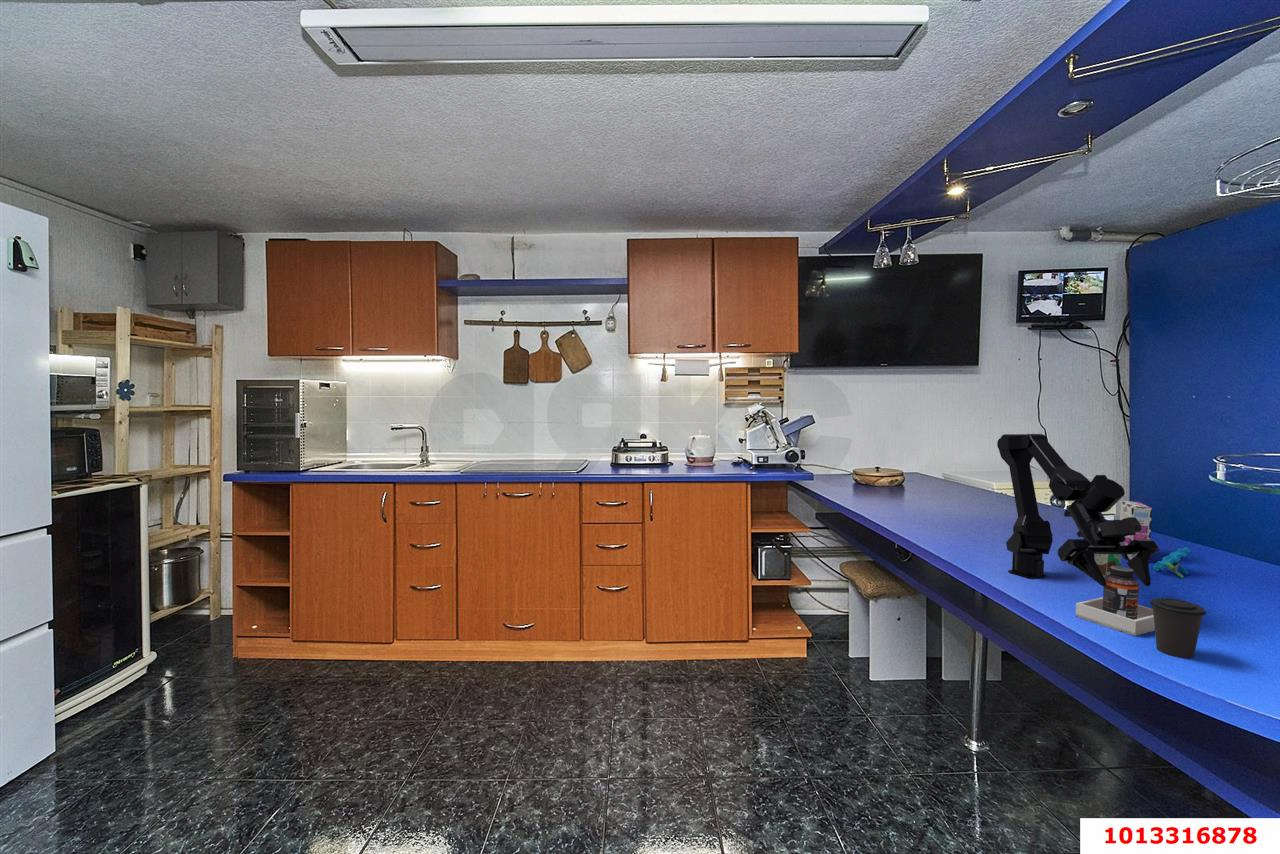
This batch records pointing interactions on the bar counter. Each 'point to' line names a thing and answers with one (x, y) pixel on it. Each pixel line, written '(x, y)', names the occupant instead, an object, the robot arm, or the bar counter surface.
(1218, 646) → the bar counter surface
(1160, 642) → the coffee cup
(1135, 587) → the supplement bottle
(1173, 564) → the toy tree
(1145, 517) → the candy bar box
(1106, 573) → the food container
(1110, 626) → the tray
